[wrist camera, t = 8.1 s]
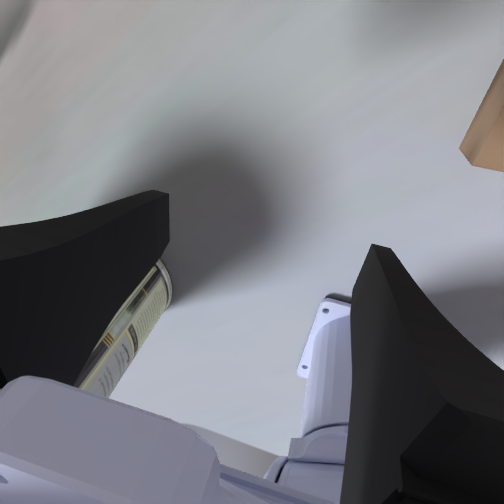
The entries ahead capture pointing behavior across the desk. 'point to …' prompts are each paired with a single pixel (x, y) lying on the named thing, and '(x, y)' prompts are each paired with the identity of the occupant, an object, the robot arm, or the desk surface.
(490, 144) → the walnut slab
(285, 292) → the desk surface
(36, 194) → the desk surface
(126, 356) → the coffee can
